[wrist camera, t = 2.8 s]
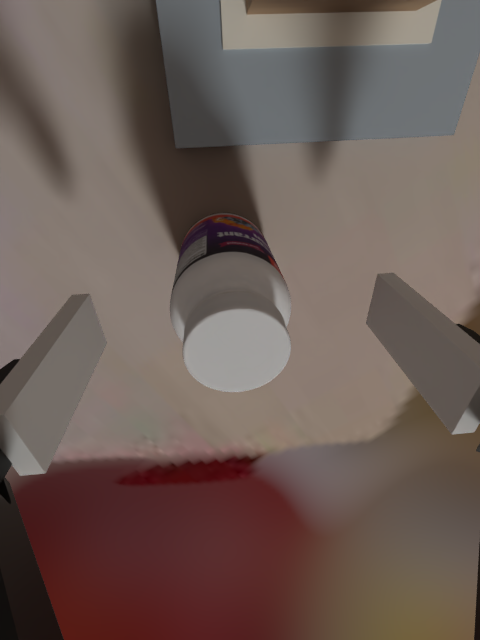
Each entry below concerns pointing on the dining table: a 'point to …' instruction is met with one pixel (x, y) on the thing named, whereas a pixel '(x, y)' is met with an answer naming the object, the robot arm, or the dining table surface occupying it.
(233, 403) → the dining table surface
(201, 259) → the pill bottle
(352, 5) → the walnut block
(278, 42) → the board
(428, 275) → the dining table surface
